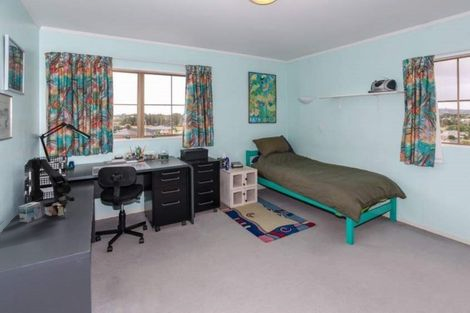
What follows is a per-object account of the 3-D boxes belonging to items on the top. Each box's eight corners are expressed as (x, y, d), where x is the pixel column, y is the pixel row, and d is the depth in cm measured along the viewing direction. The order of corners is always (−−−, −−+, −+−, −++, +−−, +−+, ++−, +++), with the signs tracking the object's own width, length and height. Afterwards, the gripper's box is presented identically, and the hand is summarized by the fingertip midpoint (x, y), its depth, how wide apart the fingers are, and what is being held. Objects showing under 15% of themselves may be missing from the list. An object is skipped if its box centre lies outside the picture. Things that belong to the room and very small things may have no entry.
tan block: (45, 213, 193) (44, 207, 192) (61, 209, 202) (60, 203, 201) (50, 216, 189) (49, 209, 188) (65, 211, 198) (65, 205, 197)
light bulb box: (28, 222, 178) (26, 207, 176) (19, 221, 179) (17, 206, 177) (42, 216, 188) (40, 202, 186) (34, 216, 189) (32, 201, 188)
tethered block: (50, 213, 194) (49, 205, 193) (59, 211, 199) (58, 203, 198) (56, 216, 188) (55, 208, 187) (65, 214, 193) (65, 206, 192)
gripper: (48, 197, 176) (50, 219, 179) (77, 190, 192) (79, 211, 194) (41, 194, 183) (43, 216, 185) (70, 188, 198) (72, 208, 200)
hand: (60, 212), depth 191 cm, fingers closed on tethered block, 3 cm apart
